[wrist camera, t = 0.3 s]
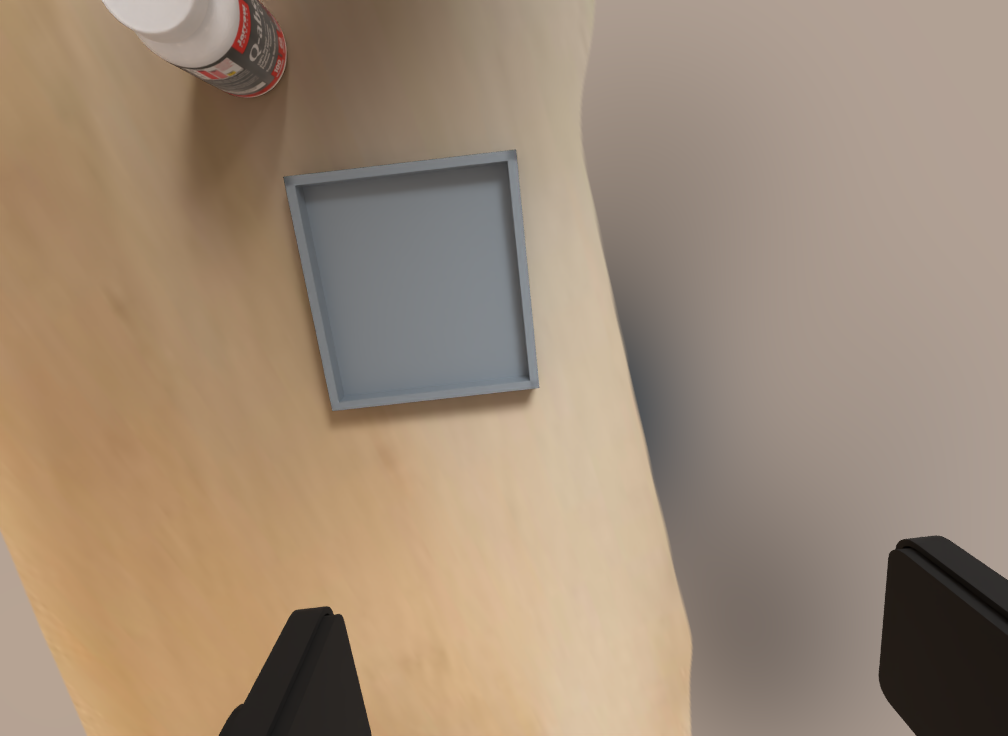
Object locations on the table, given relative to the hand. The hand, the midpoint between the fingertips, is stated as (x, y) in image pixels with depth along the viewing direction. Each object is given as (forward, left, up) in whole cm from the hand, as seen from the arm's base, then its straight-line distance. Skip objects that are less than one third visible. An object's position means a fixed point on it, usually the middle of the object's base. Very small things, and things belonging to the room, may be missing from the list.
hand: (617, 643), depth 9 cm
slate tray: (-4, -7, -30) cm, 31 cm away
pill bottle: (-20, -16, -31) cm, 40 cm away
